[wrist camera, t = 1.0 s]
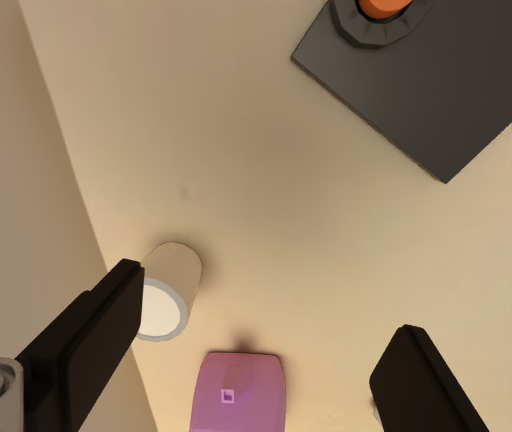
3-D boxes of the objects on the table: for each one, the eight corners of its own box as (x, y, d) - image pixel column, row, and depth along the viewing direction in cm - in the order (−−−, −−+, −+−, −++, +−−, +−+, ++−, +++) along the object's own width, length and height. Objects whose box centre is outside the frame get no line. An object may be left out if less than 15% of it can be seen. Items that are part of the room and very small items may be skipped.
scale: (284, 54, 21) (284, 47, 18) (404, -132, 17) (429, -178, 14) (437, 180, 24) (457, 190, 21) (574, 47, 20) (623, 38, 17)
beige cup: (151, 291, 31) (117, 342, 24) (138, 237, 28) (96, 277, 22) (211, 292, 30) (193, 344, 24) (203, 236, 28) (181, 277, 21)
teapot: (196, 325, 32) (161, 417, 23) (286, 328, 31) (290, 426, 22) (209, 422, 39) (187, 524, 30) (284, 428, 38) (286, 534, 29)
